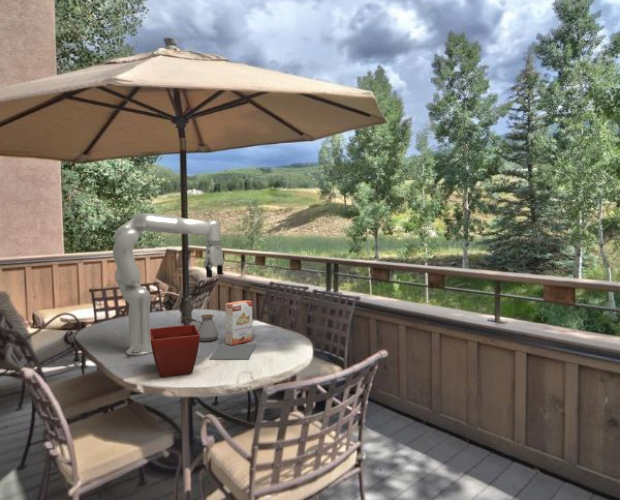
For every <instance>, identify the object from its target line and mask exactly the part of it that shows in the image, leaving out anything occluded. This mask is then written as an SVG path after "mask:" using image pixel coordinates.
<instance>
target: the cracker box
mask: <svg viewBox="0 0 620 500" xmlns="http://www.w3.org/2000/svg"><path fill="white" fill-rule="evenodd" d="M224 321H225V323H224V324H225V326H224V327H225V334H224V335H225V336H224V337H225V338H224V341H225V343H224V344H229V345H236V344H243V343H247V342H251V341H253V301H252V300H246V299H245V300H238V301H232V302H226V303H225V320H224Z"/></svg>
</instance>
